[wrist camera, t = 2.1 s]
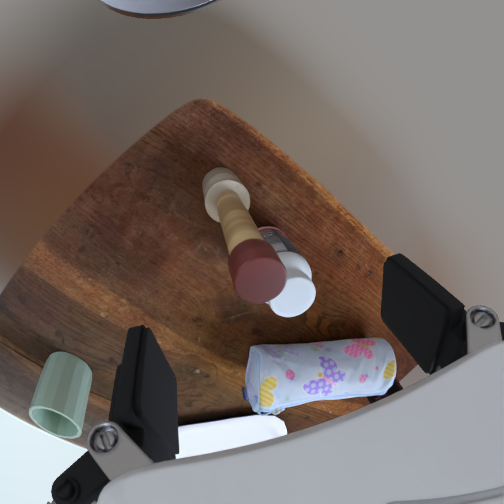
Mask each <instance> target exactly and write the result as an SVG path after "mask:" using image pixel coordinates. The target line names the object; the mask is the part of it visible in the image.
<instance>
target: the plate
mask: <svg viewBox="0 0 504 504" xmlns="http://www.w3.org/2000/svg"><path fill="white" fill-rule="evenodd" d="M178 434H179V454H176V459H179V458H184V457H190V456H196V455H202V454H207V453H212V452H217V451H222V450H227V449H232V448H236V447H241V446H245V445H250V444H254V443H258V442H262V441H265V440H269V439H273V438H277V437H280V436H284V435H287V429H286V426H285V424H284V421H283V420H281V419H280V418H278V417H276V416H275V415H266V416H260V415H259V414H254V415H247V416H239V417H231V418H226V419H219V420H213V421H206V422H200V423H193V424H186V425H181V426H178Z"/></svg>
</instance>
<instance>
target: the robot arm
mask: <svg viewBox="0 0 504 504" xmlns="http://www.w3.org/2000/svg"><path fill="white" fill-rule="evenodd" d="M464 307H465V306H464V305H463V304H462V303H461V302H460V301H459V300H458V299H457V298H455V297H454V296H453V295H452V294H450V293H449V292H448V291H447V290H446V289H445V288H444V287H442V286H441V285H440V284H439V283H437V282H436V281H435V280H434V279H432V277H430V276H429V275H428V274H427V273H425V272H424V271H423V270H422V269H420V268H419V267H418V266H416V265H415V264H414V263H413V262H411V261H410V260H409V259H408V258H406V257H405V256H404V255H402V254H400V253H399V254H396V255H393V256H390V257H388V258H387V260H386V262H384V267H383V288H382V303H381V318H382V320H383V322H384V323H385V324H386V325H387V326H388V328H389V329H390V330H391V331H392V332H393V334H394V335H395V336H396V337H397V339H398V340H399V341H400V342H401V343H402V345H403V346H404V347H405V348H406V350H407V351H408V352H409V353H410V354H411V356H412V357H413V358H414V359H415V361H416V362H417V363H418V364H419V366H420V367H421V368H422V370H423V371H424V372H425V373H429V374H430V376H428V377H426V378H424V379H422V380H420V381H418V382H416V383H414V384H413V385H411V386H409V387H407V388H405V389H403V390H400V391H398V392H396V393H394V394H392V395H390V396H388V397H386V398H383V399H381V400H379V401H377V402H374V403H372V404H370V405H368V406H365V407H363V408H360V409H358V410H356V411H353V412H351V413H348V414H345V415H343V416H340V417H338V418H335V419H332V420H330V421H327V422H324V423H321V424H318V425H315V426H312V427H309V428H306V429H303V430H300V431H297V432H294V433H290V434H287V435H284V436H280V437H277V438H273V439H269V440H265V441H262V442H258V443H254V444H250V445H245V446H241V447H236V448H232V449H227V450H222V451H217V452H212V453H207V454H202V455H196V456H190V457H184V458H179V459H176V454H179V434H178V412H177V381H176V377H175V374H174V372H173V370H172V369H171V367H170V365H169V363H168V361H167V360H166V358H165V356H164V354H163V352H162V350H161V348H160V346H159V345H158V343H157V341H156V339H155V337H154V335H153V333H152V331H151V329H150V328H145V326H144V325H141V326H136V327H132V328H129V330H128V334H127V338H126V343H125V348H124V354H123V359H122V364H120V365H119V366H118V367H117V371H116V377H115V382H114V388H113V394H112V401H111V407H110V414H109V421H104V422H100V423H98V424H96V425H95V426H93V427H92V428H91V429H90V431H89V432H88V434H87V437H86V447H87V449H88V451H87V452H86V453H85V454H84V455H82V456H81V457H80V458H79V459H78V460H77V461H76V462H75V463H73V464H72V465H71V466H70V467H69V468H68V469H67V470H66V471H64V472H63V473H62V474H61V475H60V476H59V477H58V478H57V479H56V480H55V481H54V483H53V485H52V490H51V493H52V497H53V501H52V503H50V502H48V503H47V504H504V322H499V318H498V316H497V314H496V313H495V312H494V311H493V310H492V309H490V308H488V307H486V306H474V307H471V308H470V309H469V310H468V311H467V312H466V311H465V310H464Z"/></svg>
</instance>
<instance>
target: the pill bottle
mask: <svg viewBox="0 0 504 504" xmlns="http://www.w3.org/2000/svg"><path fill="white" fill-rule="evenodd" d="M258 230H259V232H260V233H261V235H262V237H263V239H264V240H265V241H267V242H268V243H270V244H271V245H272V246H273V248H274V249H275V251H276V253H277V254H278V256H279V258H280V259H281V261H282V263H283V264H284V266H285V268H286V270H287V282H286V285H285V287H284V289H283V291H282V292H281V293H280V294H279V295H278V296H277V297H276V298H274V299H272V300H270V301H268V302H265V303H267V304H269V305H270V307H271V309H272V310H273V311H274V312H275V313H276V314H278V315H280V316H283V317H294V316H297V315H300V314H302V313H303V312H305V311H306V310H307V309H308V308H309V307H310V306H311V305H312V303H313V301H314V299H315V294H316V291H315V287H314V284H313V283H312V281H311V269H310V267H309V265H308V263H307V261H306V260H305V258H304V257H303V256H302V255H301V254H300V252H299V251H298V250H297V248H296V247H295V246H294V244H293V243H292V242H291V241H290V239H289V238H288V237H287V235H286V234H285V233H284V232H283V231H281V230H280V229H278V228H275V227H271V226H268V227H260V228H258Z"/></svg>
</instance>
